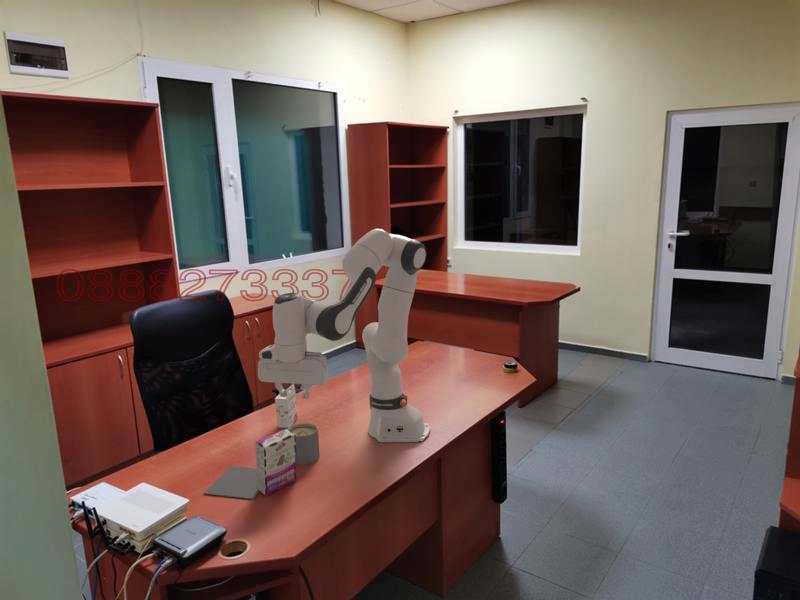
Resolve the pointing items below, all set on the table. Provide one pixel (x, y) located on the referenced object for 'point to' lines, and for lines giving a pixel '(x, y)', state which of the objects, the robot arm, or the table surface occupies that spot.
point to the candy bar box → (276, 461)
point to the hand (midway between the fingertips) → (294, 397)
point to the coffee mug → (306, 443)
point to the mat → (236, 483)
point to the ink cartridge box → (286, 408)
